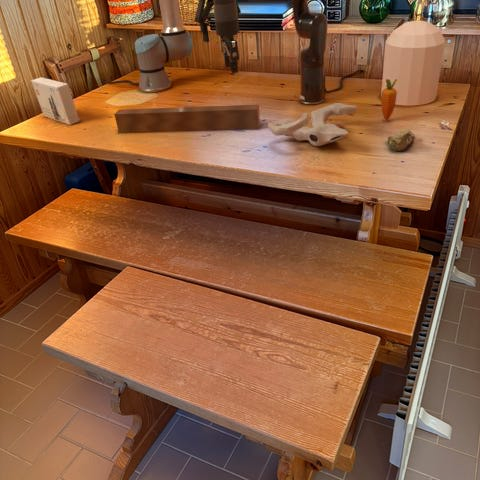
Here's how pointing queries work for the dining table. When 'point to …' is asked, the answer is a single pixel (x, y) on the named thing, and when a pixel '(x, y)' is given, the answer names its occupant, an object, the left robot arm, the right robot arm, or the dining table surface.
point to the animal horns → (314, 125)
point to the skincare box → (55, 100)
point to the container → (414, 62)
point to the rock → (400, 140)
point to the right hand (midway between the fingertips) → (231, 69)
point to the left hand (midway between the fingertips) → (220, 38)
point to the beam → (188, 119)
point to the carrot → (388, 99)
